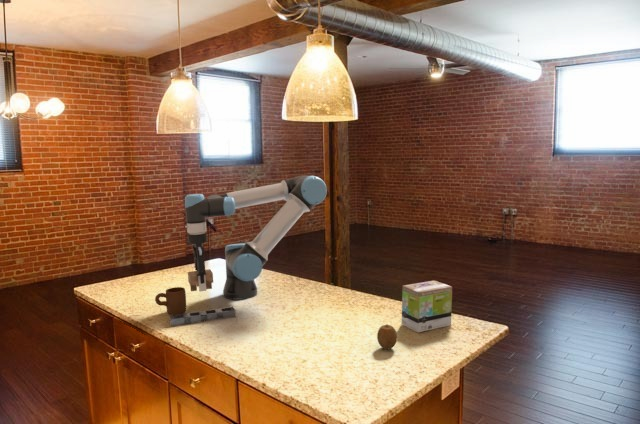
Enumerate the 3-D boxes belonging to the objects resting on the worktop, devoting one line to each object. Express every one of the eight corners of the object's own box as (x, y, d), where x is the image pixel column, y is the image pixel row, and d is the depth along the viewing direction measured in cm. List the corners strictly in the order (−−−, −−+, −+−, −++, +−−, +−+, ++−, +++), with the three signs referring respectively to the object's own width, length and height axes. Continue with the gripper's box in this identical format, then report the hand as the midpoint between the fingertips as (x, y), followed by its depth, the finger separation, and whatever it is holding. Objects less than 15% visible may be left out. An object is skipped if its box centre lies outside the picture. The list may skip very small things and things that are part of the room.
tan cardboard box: (211, 285, 196) (210, 269, 196) (213, 289, 190) (212, 272, 189) (189, 288, 193) (187, 271, 192) (190, 293, 187) (189, 275, 186)
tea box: (419, 334, 161) (419, 292, 159) (401, 324, 170) (401, 285, 168) (452, 325, 168) (452, 285, 166) (433, 317, 177) (433, 279, 175)
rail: (233, 312, 187) (232, 306, 186) (235, 316, 182) (235, 310, 182) (169, 322, 178) (169, 315, 178) (170, 326, 173) (170, 319, 173)
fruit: (383, 354, 145) (383, 329, 144) (373, 347, 151) (373, 323, 150) (400, 350, 148) (400, 326, 147) (390, 343, 153) (390, 319, 152)
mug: (159, 319, 181) (158, 295, 180) (153, 314, 187) (151, 291, 186) (189, 312, 188) (188, 289, 187) (182, 308, 194) (181, 285, 193)
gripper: (184, 230, 196) (189, 283, 199) (190, 237, 178) (195, 296, 181) (203, 228, 199) (207, 281, 202) (210, 235, 181) (214, 293, 184)
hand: (201, 288), depth 192 cm, fingers closed on tan cardboard box, 7 cm apart
